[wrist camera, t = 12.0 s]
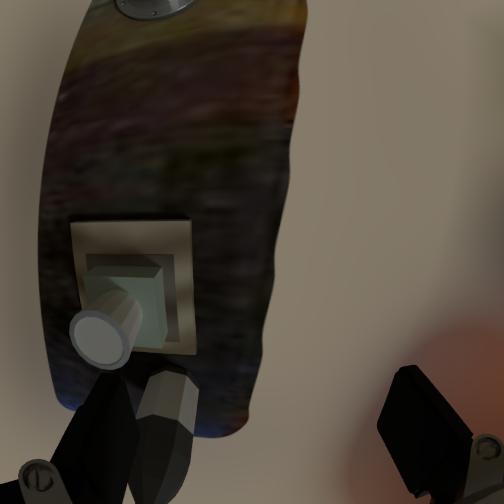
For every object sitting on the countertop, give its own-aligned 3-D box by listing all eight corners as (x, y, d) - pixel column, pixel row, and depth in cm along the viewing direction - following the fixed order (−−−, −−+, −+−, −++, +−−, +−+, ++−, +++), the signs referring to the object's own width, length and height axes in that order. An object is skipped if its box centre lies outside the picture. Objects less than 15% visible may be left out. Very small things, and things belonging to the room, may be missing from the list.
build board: (75, 221, 34) (70, 223, 33) (191, 219, 35) (189, 221, 34) (94, 341, 39) (90, 346, 37) (196, 348, 40) (195, 355, 38)
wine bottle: (210, 382, 42) (200, 573, 13) (183, 409, 43) (160, 577, 14) (164, 354, 40) (109, 549, 11) (140, 385, 41) (86, 553, 12)
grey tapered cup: (146, 342, 33) (130, 377, 26) (95, 330, 32) (72, 360, 26) (149, 290, 31) (130, 319, 25) (94, 279, 31) (66, 303, 24)
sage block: (96, 265, 34) (82, 275, 30) (162, 266, 35) (154, 278, 31) (106, 327, 37) (95, 342, 33) (167, 332, 37) (161, 348, 33)
